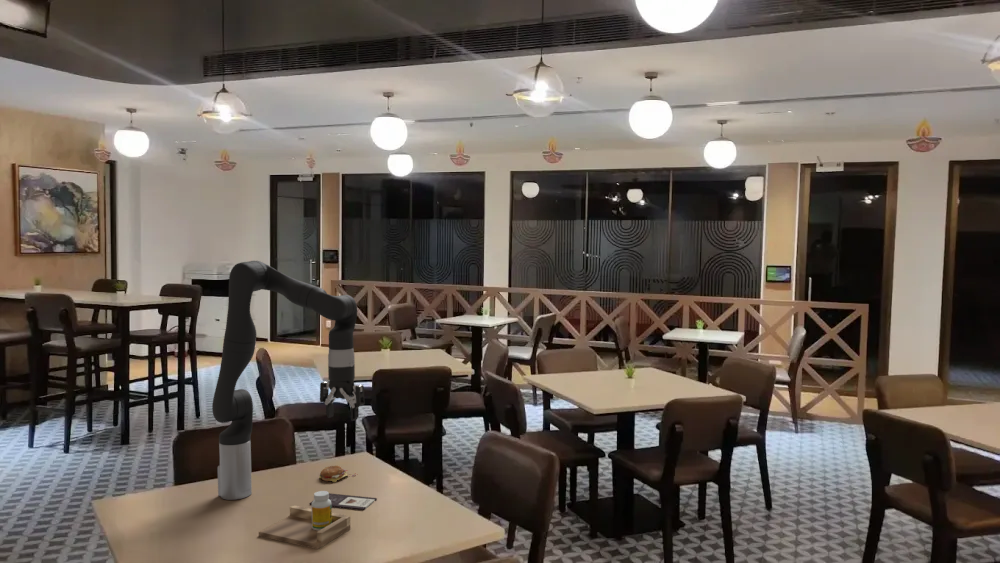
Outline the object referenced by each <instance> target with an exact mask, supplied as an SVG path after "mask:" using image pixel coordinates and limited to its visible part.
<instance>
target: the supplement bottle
mask: <svg viewBox="0 0 1000 563" xmlns="http://www.w3.org/2000/svg"><path fill="white" fill-rule="evenodd" d="M329 493H330V492H329V491H327V490H319V491H315V492H314V493H313V500H314V501H313V500H312V501H313V502H312V501H311V502H312V505H311V509H312V529H314V530H316V531H319V530H321V529H323V528H325V527H326V526H328V525H330V524H332V513H333V512H332V509H333V507H332V503H331V500H330V499H328V498H329Z"/></svg>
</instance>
